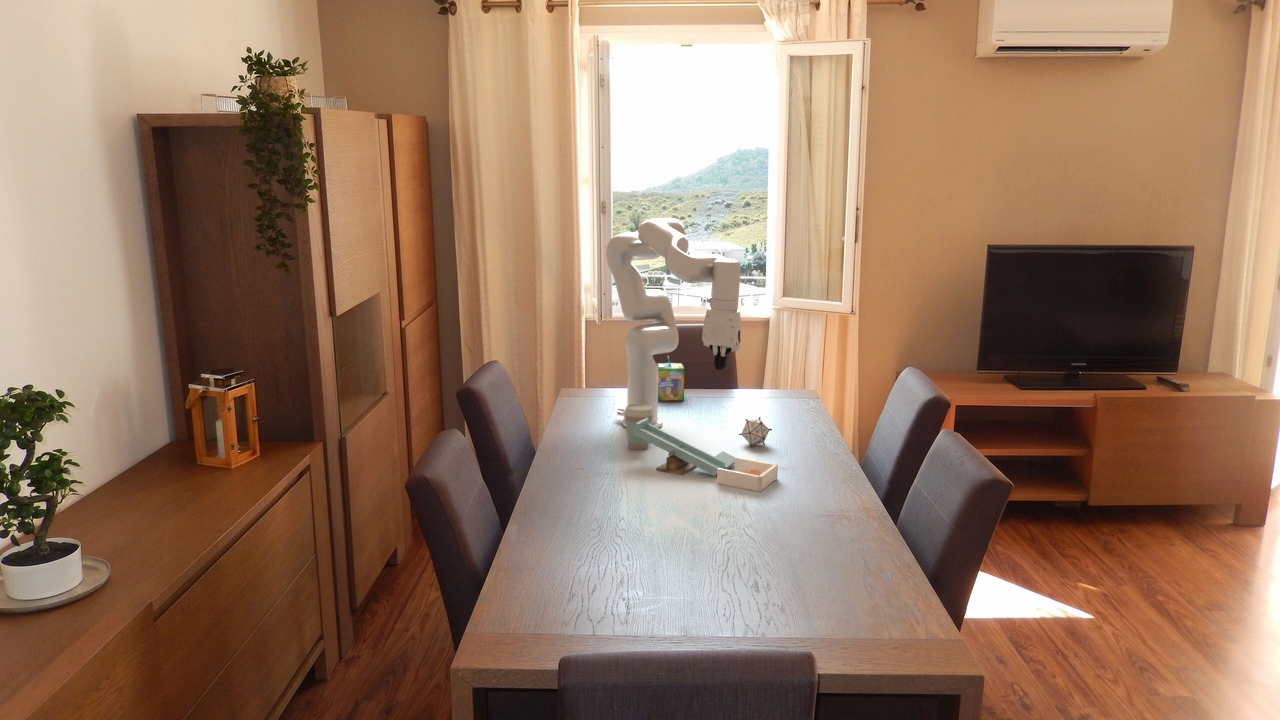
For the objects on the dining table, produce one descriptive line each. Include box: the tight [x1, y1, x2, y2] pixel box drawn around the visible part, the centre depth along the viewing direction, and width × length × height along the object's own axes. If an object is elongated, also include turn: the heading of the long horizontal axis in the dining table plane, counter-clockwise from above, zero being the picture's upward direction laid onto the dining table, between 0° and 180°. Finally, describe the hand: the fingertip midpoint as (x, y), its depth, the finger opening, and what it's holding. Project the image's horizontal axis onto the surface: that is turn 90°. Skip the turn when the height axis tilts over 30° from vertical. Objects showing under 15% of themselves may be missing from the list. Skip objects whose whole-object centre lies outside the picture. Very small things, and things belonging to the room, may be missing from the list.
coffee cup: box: [624, 404, 654, 451], centre depth 273 cm, size 8×8×12 cm
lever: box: [633, 418, 736, 477], centre depth 259 cm, size 26×16×4 cm, turn 61°
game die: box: [738, 416, 773, 448], centre depth 277 cm, size 9×8×10 cm
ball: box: [747, 468, 761, 476], centre depth 246 cm, size 4×4×4 cm
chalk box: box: [656, 354, 685, 402], centre depth 327 cm, size 9×9×15 cm
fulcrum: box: [655, 455, 697, 476], centre depth 257 cm, size 8×10×4 cm
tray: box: [716, 456, 779, 493], centre depth 247 cm, size 12×12×4 cm
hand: (719, 368), depth 264 cm, fingers closed
